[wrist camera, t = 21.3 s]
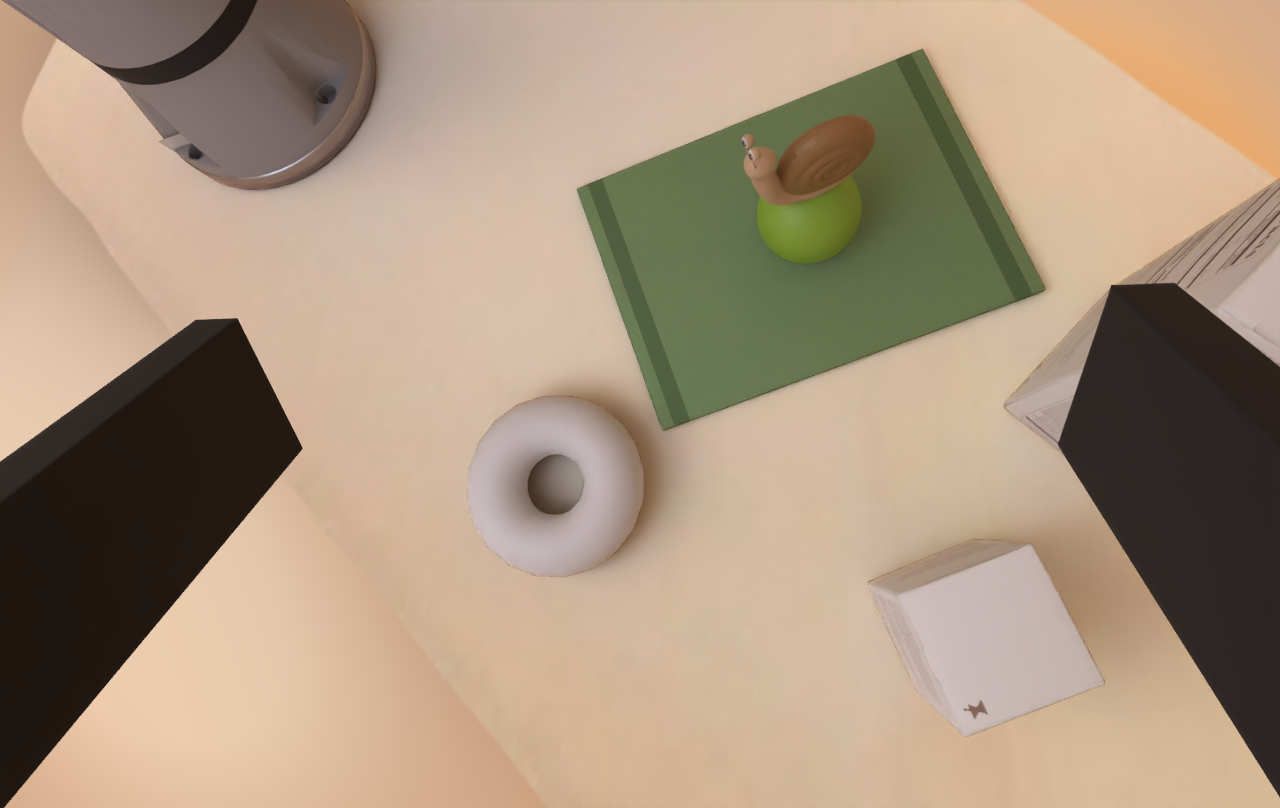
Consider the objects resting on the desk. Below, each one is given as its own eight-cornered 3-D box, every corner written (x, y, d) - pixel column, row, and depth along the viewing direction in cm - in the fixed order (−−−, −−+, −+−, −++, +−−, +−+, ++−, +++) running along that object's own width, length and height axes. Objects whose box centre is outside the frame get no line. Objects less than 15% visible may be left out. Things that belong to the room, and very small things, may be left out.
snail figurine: (725, 221, 39) (717, 93, 27) (826, 174, 38) (863, 23, 27) (764, 300, 38) (773, 203, 26) (869, 253, 37) (927, 132, 25)
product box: (1032, 652, 33) (1112, 689, 26) (916, 695, 33) (963, 744, 26) (973, 535, 34) (1034, 540, 27) (863, 579, 35) (893, 594, 28)
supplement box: (1278, 396, 33) (1801, 278, 17) (1155, 531, 33) (1564, 544, 17) (1111, 279, 35) (1429, 71, 19) (995, 404, 35) (1215, 305, 19)
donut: (662, 414, 38) (499, 388, 40) (656, 405, 35) (477, 376, 36) (631, 591, 37) (463, 556, 38) (621, 598, 33) (437, 560, 35)
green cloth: (577, 191, 41) (576, 188, 41) (920, 53, 39) (922, 48, 39) (663, 431, 38) (662, 430, 37) (1042, 291, 36) (1046, 289, 35)
